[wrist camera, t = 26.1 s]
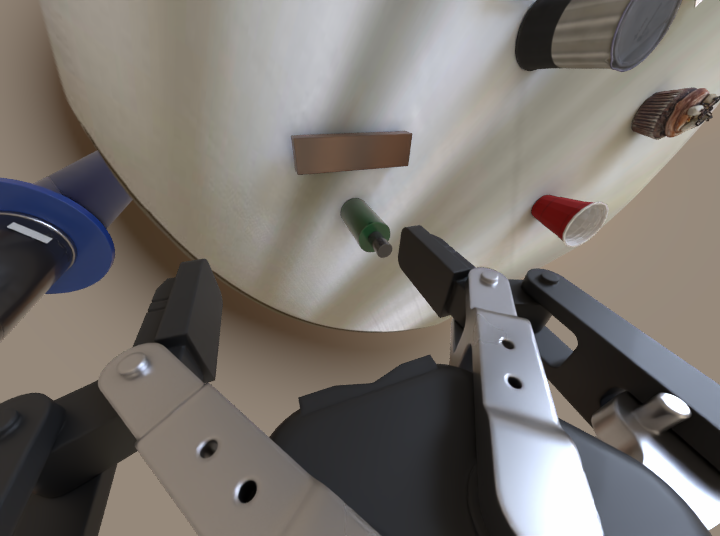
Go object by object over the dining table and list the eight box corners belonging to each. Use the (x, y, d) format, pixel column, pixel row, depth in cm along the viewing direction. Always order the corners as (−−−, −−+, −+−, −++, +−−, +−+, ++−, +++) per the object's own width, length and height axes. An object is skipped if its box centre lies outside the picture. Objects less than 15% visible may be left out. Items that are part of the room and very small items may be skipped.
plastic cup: (548, 176, 60) (601, 195, 51) (565, 194, 65) (615, 213, 56) (514, 216, 64) (558, 240, 55) (533, 230, 70) (576, 253, 61)
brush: (293, 167, 40) (297, 175, 37) (289, 133, 37) (293, 138, 34) (397, 160, 45) (408, 166, 42) (401, 129, 42) (412, 133, 39)
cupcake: (629, 111, 56) (687, 117, 49) (670, 75, 54) (738, 75, 47) (626, 144, 62) (678, 154, 55) (664, 113, 61) (723, 119, 53)
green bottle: (340, 226, 49) (367, 269, 38) (340, 199, 45) (368, 237, 35) (367, 223, 50) (399, 262, 40) (368, 196, 47) (403, 232, 36)
